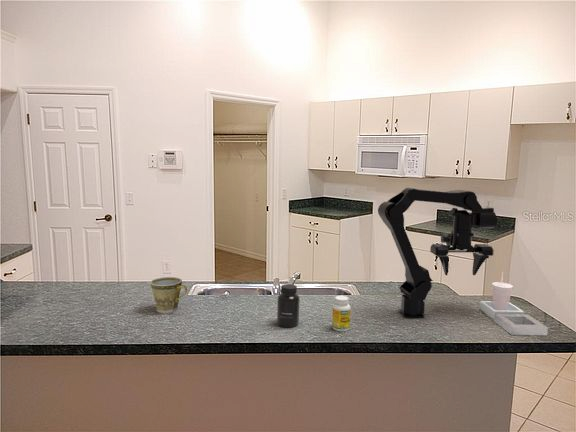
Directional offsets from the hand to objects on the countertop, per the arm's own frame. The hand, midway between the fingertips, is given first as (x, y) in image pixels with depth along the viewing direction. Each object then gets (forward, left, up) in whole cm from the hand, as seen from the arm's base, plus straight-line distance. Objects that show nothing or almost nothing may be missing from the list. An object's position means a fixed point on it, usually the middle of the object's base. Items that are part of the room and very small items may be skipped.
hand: (459, 275), depth 137 cm
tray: (+14, -2, -13) cm, 19 cm away
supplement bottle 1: (-57, -11, -13) cm, 60 cm away
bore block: (+14, -13, -13) cm, 23 cm away
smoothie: (+14, -1, -13) cm, 19 cm away
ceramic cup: (-96, -1, -13) cm, 97 cm away
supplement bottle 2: (-41, -14, -13) cm, 45 cm away
